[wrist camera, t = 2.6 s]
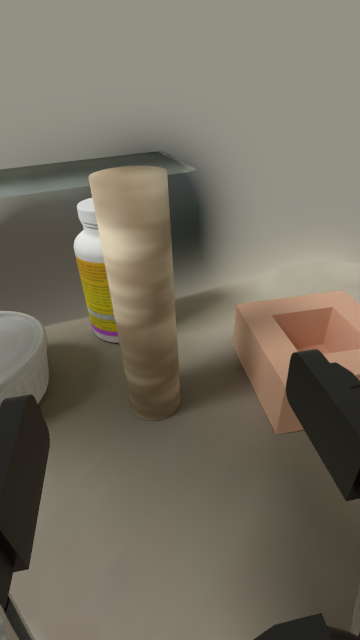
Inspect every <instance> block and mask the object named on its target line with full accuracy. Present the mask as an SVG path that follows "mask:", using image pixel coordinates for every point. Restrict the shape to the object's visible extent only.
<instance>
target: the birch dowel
mask: <svg viewBox="0 0 360 640" xmlns="http://www.w3.org/2000/svg"><path fill="white" fill-rule="evenodd" d="M89 182H90V187H91V192H92V198H93V203H94V209H95V214H96V220H97V225H98V230H99V236H100V241H101V247H102V252H103V257H104V263H105V268H106V274H107V279H108V284H109V290H110V295H111V301H112V306H113V311H114V317H115V322H116V328H117V333H118V338H119V344H120V349H121V355H122V360H123V365H124V371H125V376H126V382H127V387H128V392H129V398H130V403H131V408H132V410H133V412H134V413H135V414H136V415H137V416H138V417H140V418H142V419H144V420H148V421H159V420H163V419H166V418H168V417H170V416H171V415H173V414H174V413H175V412H176V411H177V410H178V408H179V406H180V403H181V394H180V378H179V361H178V345H177V329H176V312H175V296H174V279H173V264H172V247H171V232H170V216H169V215H170V214H169V198H168V181H167V170H166V169H164V168H160V167H154V166H126V167H117V168H110V169H105V170H101V171H97V172H95V173H92V174H91V175H89Z"/></svg>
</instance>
